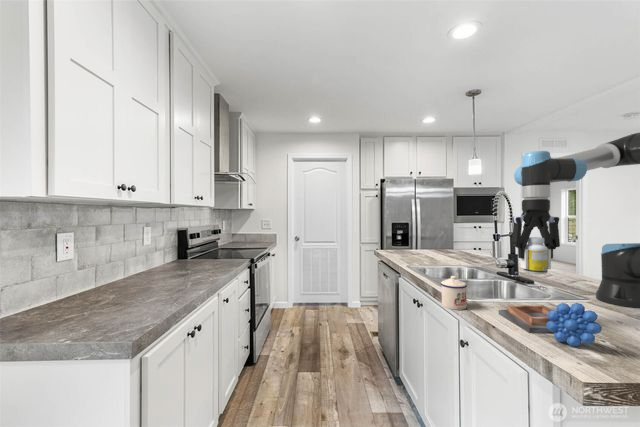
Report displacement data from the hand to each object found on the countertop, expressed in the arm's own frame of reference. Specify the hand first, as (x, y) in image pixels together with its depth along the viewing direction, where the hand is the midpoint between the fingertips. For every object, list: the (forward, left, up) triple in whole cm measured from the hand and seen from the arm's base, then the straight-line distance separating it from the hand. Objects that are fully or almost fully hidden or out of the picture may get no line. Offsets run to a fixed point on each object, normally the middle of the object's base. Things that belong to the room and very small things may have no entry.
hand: (535, 268), depth 96 cm
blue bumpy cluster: (+2, +17, -18) cm, 25 cm away
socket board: (0, +2, -17) cm, 18 cm away
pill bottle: (0, 0, -2) cm, 2 cm away
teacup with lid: (+19, -15, -18) cm, 30 cm away
